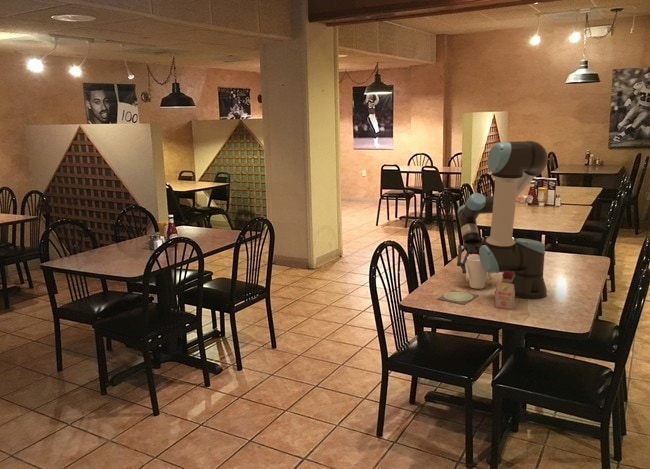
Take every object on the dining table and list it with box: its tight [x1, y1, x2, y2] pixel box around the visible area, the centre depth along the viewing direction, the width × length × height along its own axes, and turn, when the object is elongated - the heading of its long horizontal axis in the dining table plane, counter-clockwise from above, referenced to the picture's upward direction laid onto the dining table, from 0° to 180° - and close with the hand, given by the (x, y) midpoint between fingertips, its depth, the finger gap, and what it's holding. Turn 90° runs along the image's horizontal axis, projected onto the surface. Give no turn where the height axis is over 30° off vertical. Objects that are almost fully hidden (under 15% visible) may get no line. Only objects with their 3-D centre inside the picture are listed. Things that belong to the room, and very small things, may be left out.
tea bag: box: [493, 281, 516, 311], centre depth 225 cm, size 4×7×10 cm, turn 56°
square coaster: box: [436, 289, 480, 306], centre depth 238 cm, size 12×14×1 cm
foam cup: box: [466, 254, 488, 289], centre depth 250 cm, size 10×9×13 cm
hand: (479, 278), depth 248 cm, fingers closed on foam cup, 9 cm apart
